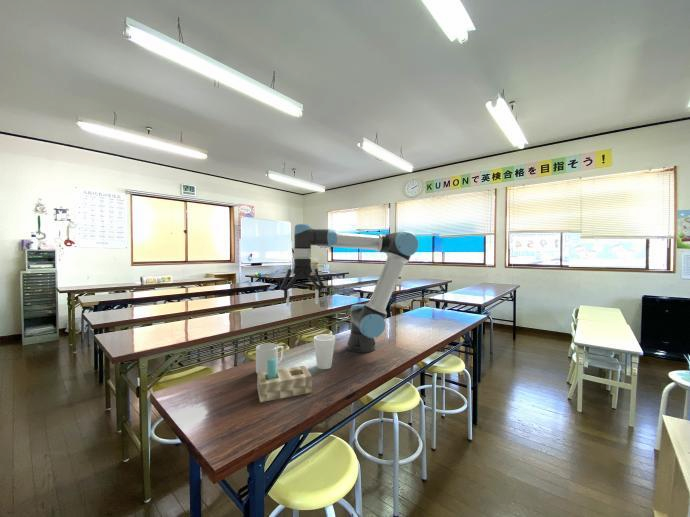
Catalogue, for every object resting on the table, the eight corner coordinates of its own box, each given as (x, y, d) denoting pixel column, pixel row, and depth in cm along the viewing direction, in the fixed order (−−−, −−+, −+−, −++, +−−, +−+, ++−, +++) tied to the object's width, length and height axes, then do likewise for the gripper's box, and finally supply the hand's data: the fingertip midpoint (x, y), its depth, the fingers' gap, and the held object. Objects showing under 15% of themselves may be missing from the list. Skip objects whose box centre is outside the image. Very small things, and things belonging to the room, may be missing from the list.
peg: (275, 390, 103) (275, 357, 103) (276, 394, 101) (276, 360, 100) (267, 391, 102) (267, 358, 102) (268, 395, 99) (268, 362, 99)
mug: (261, 379, 112) (261, 351, 112) (252, 372, 119) (252, 346, 118) (288, 371, 120) (288, 345, 120) (278, 364, 127) (278, 340, 126)
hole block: (304, 380, 111) (304, 365, 111) (311, 392, 102) (311, 376, 102) (257, 388, 104) (257, 372, 104) (260, 402, 95) (260, 384, 95)
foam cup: (309, 366, 125) (309, 337, 125) (324, 360, 132) (324, 333, 132) (324, 372, 119) (324, 342, 118) (339, 366, 125) (339, 337, 125)
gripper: (326, 258, 137) (325, 301, 137) (273, 258, 127) (273, 304, 128) (331, 258, 130) (330, 304, 130) (276, 258, 120) (276, 307, 121)
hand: (302, 304), depth 129 cm, fingers open, 13 cm apart
